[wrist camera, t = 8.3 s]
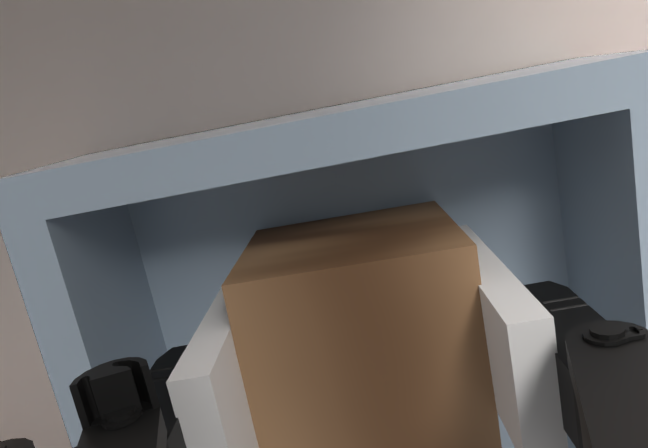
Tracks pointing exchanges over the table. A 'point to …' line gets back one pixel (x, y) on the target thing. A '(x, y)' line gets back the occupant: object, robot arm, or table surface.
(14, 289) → the table surface
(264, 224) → the tote
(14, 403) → the table surface
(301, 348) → the walnut cube
